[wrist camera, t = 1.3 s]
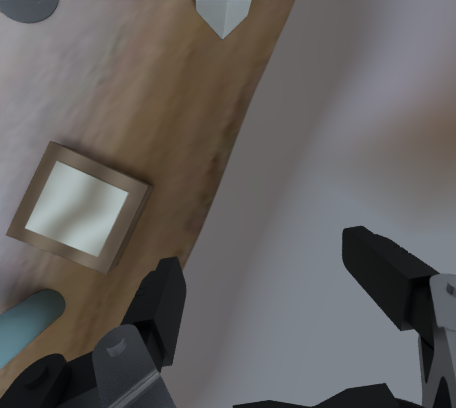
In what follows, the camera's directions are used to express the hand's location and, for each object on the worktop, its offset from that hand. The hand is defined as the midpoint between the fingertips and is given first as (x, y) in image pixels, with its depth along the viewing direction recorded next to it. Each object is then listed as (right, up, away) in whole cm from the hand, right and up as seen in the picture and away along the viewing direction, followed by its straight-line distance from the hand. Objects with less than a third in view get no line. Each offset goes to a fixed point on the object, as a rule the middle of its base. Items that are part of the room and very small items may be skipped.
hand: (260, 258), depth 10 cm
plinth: (-23, +2, +23) cm, 33 cm away
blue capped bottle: (-30, -13, +23) cm, 40 cm away
